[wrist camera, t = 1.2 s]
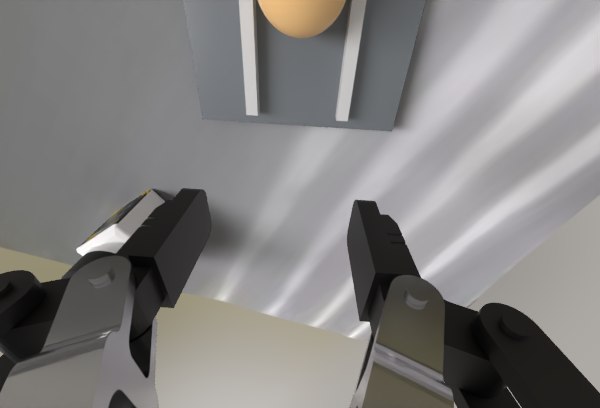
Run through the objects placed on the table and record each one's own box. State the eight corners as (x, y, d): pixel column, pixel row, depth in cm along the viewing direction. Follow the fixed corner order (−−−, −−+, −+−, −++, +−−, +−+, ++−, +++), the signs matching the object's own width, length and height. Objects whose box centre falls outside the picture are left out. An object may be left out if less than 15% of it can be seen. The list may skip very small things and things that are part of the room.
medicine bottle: (151, 187, 31) (75, 262, 21) (194, 226, 34) (146, 308, 24) (115, 211, 33) (31, 290, 23) (159, 246, 36) (102, 328, 26)
